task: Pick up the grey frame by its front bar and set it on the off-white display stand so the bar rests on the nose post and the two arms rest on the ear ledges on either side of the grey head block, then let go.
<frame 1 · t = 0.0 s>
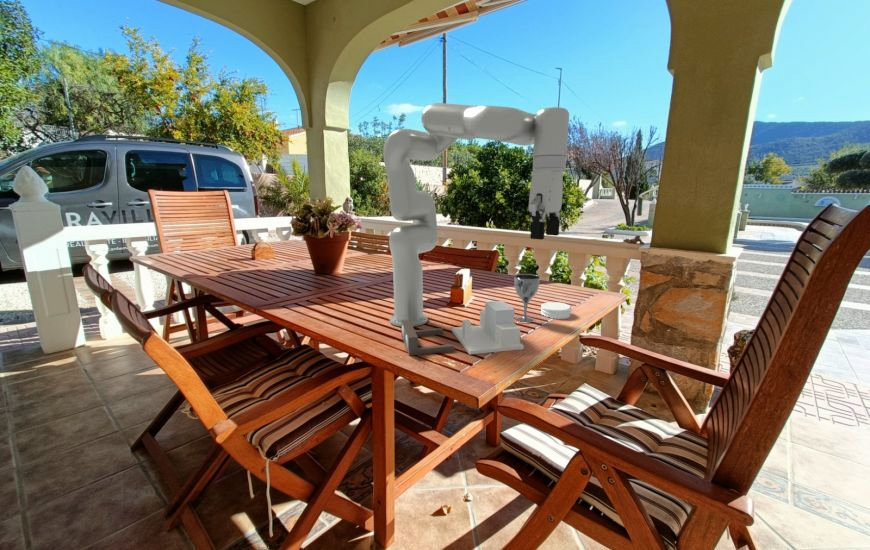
hand: (544, 236, 94), 31 cm above the table, tool pointing down, fingers open, 9 cm apart
grey frame: (409, 344, 108), on the table
wine glass: (524, 320, 128), on the table
stand: (481, 339, 111), on the table
white round disc: (555, 315, 134), on the table
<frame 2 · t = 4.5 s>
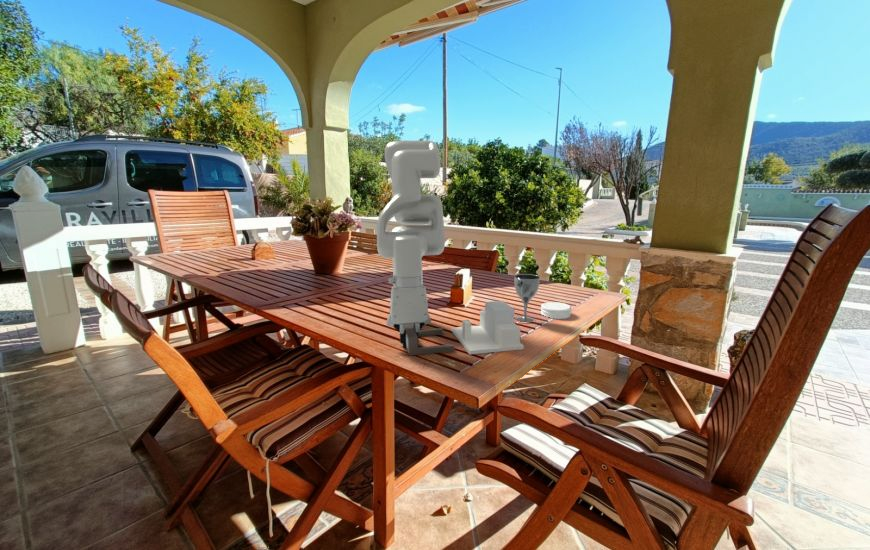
hand: (409, 344, 108), 0 cm above the table, tool pointing down, fingers closed on grey frame
grey frame: (409, 344, 108), on the table, touching gripper
everything else where it was.
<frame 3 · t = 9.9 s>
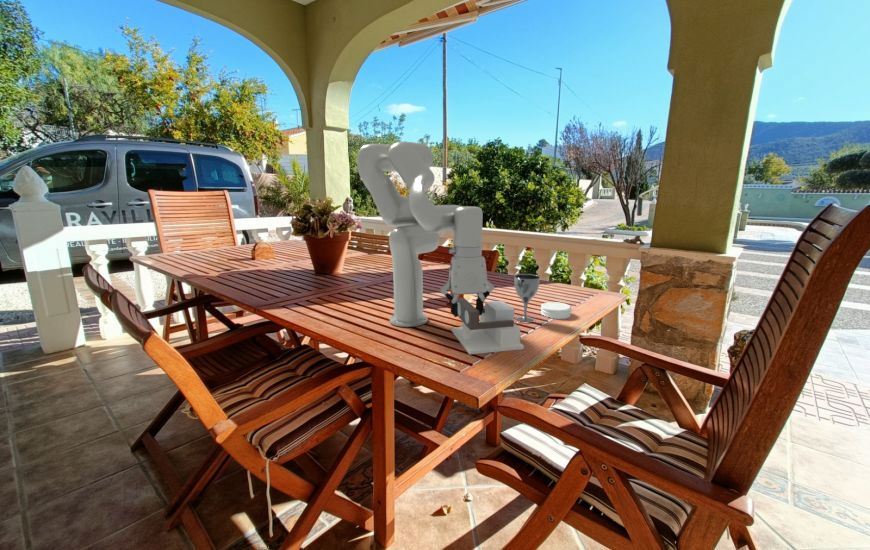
hand: (466, 314, 109), 8 cm above the table, tool pointing down, fingers open, 6 cm apart
grey frame: (466, 321, 109), point 6 cm above the table, touching stand
everything else where it was.
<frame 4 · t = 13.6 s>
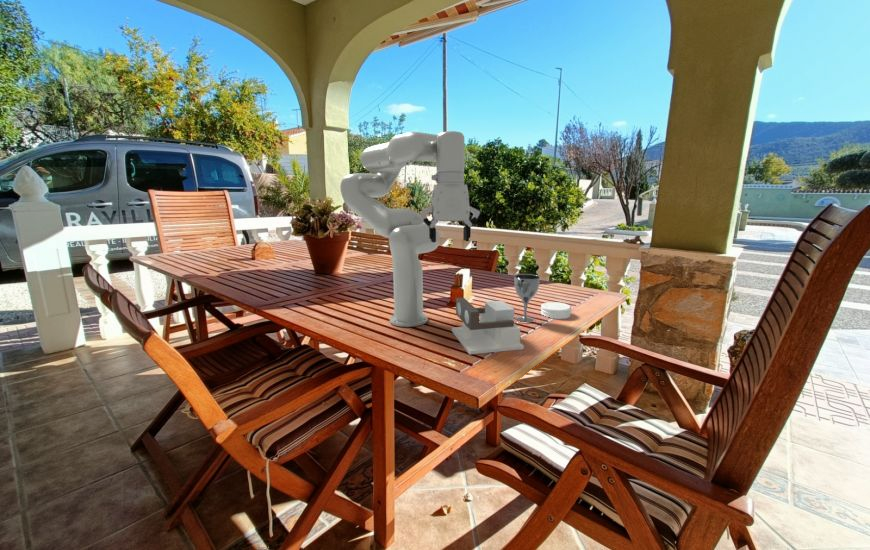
hand: (449, 241, 109), 28 cm above the table, tool pointing down, fingers open, 9 cm apart
nothing on the table moved.
at the end: grey frame 0.0 cm from the target spot on the stand, point 6.0 cm above the stand's base; grey frame tilted 0°; the gripper is holding nothing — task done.
